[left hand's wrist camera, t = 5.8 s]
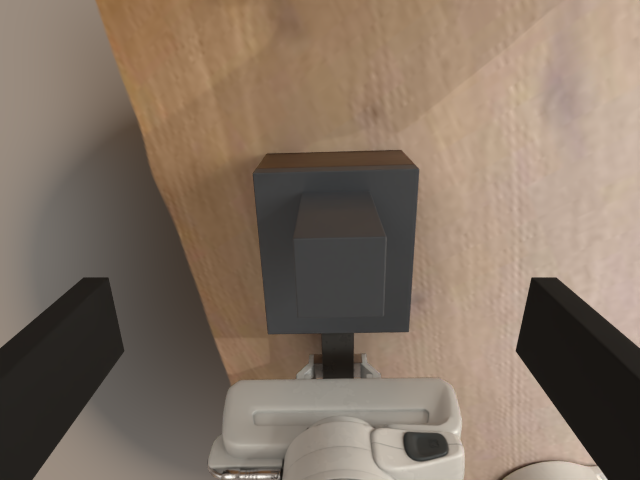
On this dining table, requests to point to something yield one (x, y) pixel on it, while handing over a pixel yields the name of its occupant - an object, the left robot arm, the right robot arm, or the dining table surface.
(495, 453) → the dining table surface
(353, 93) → the dining table surface
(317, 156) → the box
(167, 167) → the dining table surface
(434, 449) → the right robot arm
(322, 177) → the lid
